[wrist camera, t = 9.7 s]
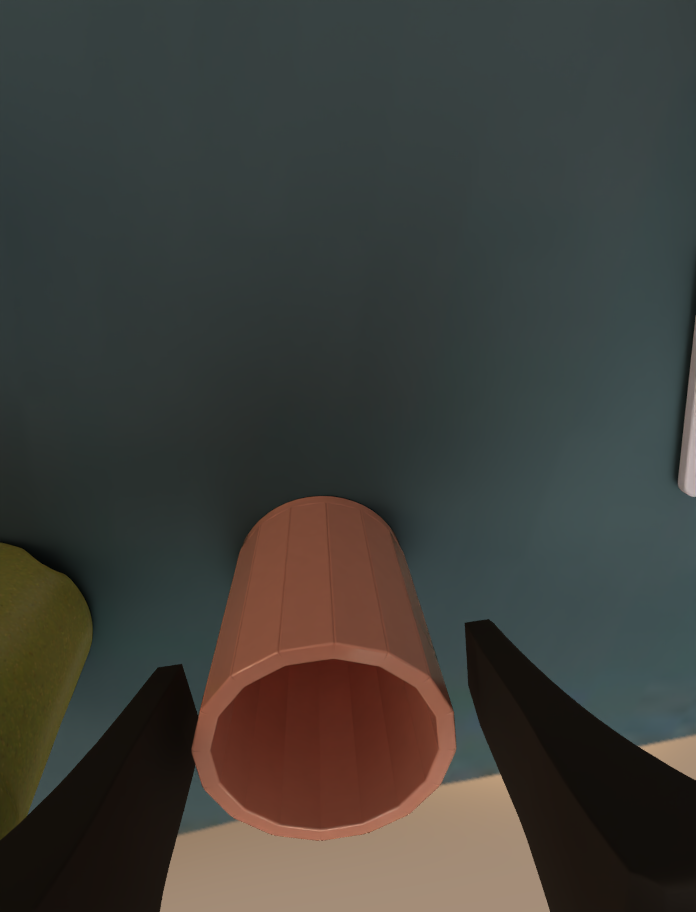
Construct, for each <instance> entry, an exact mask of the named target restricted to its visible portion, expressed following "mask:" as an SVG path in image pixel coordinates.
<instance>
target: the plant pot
mask: <svg viewBox="0 0 696 912" xmlns="http://www.w3.org/2000/svg"><path fill="white" fill-rule="evenodd" d="M92 634H93V627H92V619H91V614H90V611H89V608H88V605H87V603H86V601H85V599H84V597H83V595H82V594H81V592H80V591H79V589H78V588H77V587H76V585H75V584H74V583H73V581H72V580H71V579H70V578H69V577H68V576H67V575H65V574H63V573H60V572H57V571H55V570H52V569H50V568H49V567H47V566H45V565H43V564H41V563H40V562H39V561H37V560H36V559H35V558H33V557H32V556H31V555H30V554H29V553H28V552H27V551H25V550H24V549H22V548H19V547H16V546H13V545H9V544H5V543H0V840H1V839H2V838H3V837H4V836H6V835H7V834H8V833H9V832H10V831H11V830H12V829H14V828H15V827H16V826H17V825H18V824H19V823H20V822H21V821H22V820H23V819H24V818H26V817H27V814H28V811H29V808H30V806H31V803H32V800H33V798H34V795H35V792H36V789H37V787H38V784H39V781H40V779H41V776H42V773H43V770H44V768H45V765H46V762H47V760H48V757H49V754H50V752H51V749H52V746H53V743H54V741H55V738H56V735H57V733H58V730H59V727H60V724H61V722H62V719H63V717H64V714H65V712H66V709H67V707H68V704H69V702H70V699H71V697H72V694H73V692H74V689H75V687H76V684H77V681H78V679H79V676H80V674H81V671H82V668H83V666H84V663H85V661H86V658H87V655H88V653H89V650H90V646H91V642H92Z"/></svg>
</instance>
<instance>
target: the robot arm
mask: <svg viewBox="0 0 696 912" xmlns="http://www.w3.org/2000/svg"><path fill="white" fill-rule="evenodd" d="M678 487H679V488H680V490H681V491H683V492H684V493H686V494H688V495H690V496H692V497H696V317H695V326H694V336H693V345H692V354H691V364H690V373H689V382H688V392H687V401H686V410H685V420H684V429H683V438H682V448H681V457H680V466H679V475H678ZM465 636H466V653H467V670H468V686H469V689H470V692H471V696H472V699H473V703H474V706H475V709H476V713H477V716H478V719H479V723H480V726H481V728H482V731H483V733H484V736H485V738H486V740H487V743H488V745H489V748H490V750H491V752H492V755H493V757H494V760H495V762H496V764H497V767H498V769H499V771H500V774H501V776H502V779H503V781H504V783H505V785H506V788H507V790H508V793H509V795H510V798H511V800H512V802H513V805H514V807H515V809H516V812H517V814H518V817H519V819H520V822H521V824H522V827H523V830H524V832H525V835H526V838H527V840H528V843H529V847H530V850H531V853H532V856H533V859H534V862H535V865H536V868H537V871H538V874H539V878H540V880H541V884H542V887H543V890H544V893H545V896H546V899H547V903H548V906H549V909H550V912H696V780H694V779H692V778H690V777H688V776H686V775H684V774H683V773H681V772H679V771H678V770H676V769H674V768H672V767H670V766H669V765H667V764H666V763H664V762H662V761H661V760H659V759H657V758H656V757H654V756H652V755H651V754H649V753H648V752H646V751H644V750H643V749H641V748H640V747H638V746H636V745H635V744H633V743H632V742H630V741H629V740H627V739H626V738H624V737H623V736H621V735H620V734H618V733H617V732H615V731H614V730H613V729H611V728H610V727H609V726H607V725H606V724H604V723H603V722H602V721H600V720H599V719H598V718H596V717H595V716H594V715H592V714H591V713H590V712H588V711H587V710H586V709H585V708H583V707H582V706H581V705H580V704H578V703H577V702H576V701H575V700H573V699H572V698H571V697H570V696H569V695H567V694H566V693H565V692H564V691H563V690H561V689H560V688H559V687H558V686H557V685H556V684H555V683H553V682H552V681H551V680H550V679H549V678H548V677H547V676H546V675H545V674H544V673H543V672H541V671H540V670H539V669H538V668H537V667H536V666H535V665H534V664H533V663H532V662H531V661H530V660H529V659H528V658H527V657H526V656H525V655H524V654H523V653H522V652H521V651H520V650H519V649H518V648H517V647H516V646H515V645H514V644H513V643H512V642H511V641H510V640H509V639H508V638H507V637H506V636H505V635H504V634H503V633H502V632H501V631H500V630H499V629H498V628H497V626H496V625H495V624H494V623H493V622H492V621H490V620H489V619H487V620H480V621H473V622H467V623H465ZM197 721H198V715H197V711H196V708H195V705H194V702H193V698H192V695H191V692H190V689H189V685H188V682H187V679H186V676H185V672H184V669H183V666H182V664H179V665H172V666H165V667H158V668H157V669H156V671H155V672H154V673H153V674H152V675H151V677H150V678H149V679H148V680H147V682H146V683H145V684H144V685H143V687H142V688H141V689H140V690H139V692H138V693H137V694H136V695H135V697H134V698H133V699H132V700H131V702H130V703H129V704H128V705H127V707H126V708H125V709H124V710H123V712H122V713H121V714H120V715H119V717H118V718H117V719H116V720H115V721H114V723H113V724H112V725H111V726H110V727H109V729H108V730H107V731H106V732H105V733H104V735H103V736H102V737H101V738H100V739H99V741H98V742H97V743H96V744H95V745H94V746H93V747H92V749H91V750H90V751H89V752H88V753H87V754H86V755H85V756H84V758H83V759H82V760H81V761H80V762H79V763H78V764H77V765H76V767H75V768H74V769H73V770H72V771H71V772H70V773H69V774H68V775H67V777H66V778H65V779H64V780H63V781H62V782H61V783H60V784H59V785H58V786H57V787H56V788H55V789H54V790H53V791H52V792H51V793H50V794H49V795H48V796H47V797H46V798H45V799H44V800H43V801H42V802H41V803H40V804H39V805H38V806H37V807H36V808H35V809H34V810H33V811H32V812H31V813H30V814H29V815H28V816H27V817H26V818H24V819H23V820H22V821H21V822H20V823H19V824H18V825H17V826H16V827H15V828H14V829H12V830H11V831H10V832H9V833H8V834H7V835H6V836H4V837H3V838H2V839H1V840H0V912H160V907H161V900H162V895H163V890H164V886H165V881H166V877H167V873H168V868H169V864H170V860H171V857H172V853H173V849H174V846H175V842H176V838H177V834H178V830H179V827H180V823H181V819H182V815H183V811H184V808H185V804H186V800H187V796H188V792H189V788H190V784H191V781H192V777H193V772H194V768H195V762H194V759H193V756H192V750H191V747H192V743H193V739H194V734H195V730H196V725H197Z"/></svg>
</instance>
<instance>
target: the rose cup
mask: <svg viewBox="0 0 696 912" xmlns="http://www.w3.org/2000/svg"><path fill="white" fill-rule="evenodd" d="M191 750H192V756H193V759H194V762H195V765H196V768H197V771H198V774H199V777H200V780H201V783H202V787H203V788H204V790H205V791H206V792H207V793H208V794H209V795H210V796H211V797H212V798H213V799H214V800H215V801H216V802H217V803H218V804H219V805H220V806H221V807H222V808H223V809H224V810H225V811H226V812H227V813H228V814H229V815H230V816H231V817H233V818H234V819H237V820H239V821H241V822H243V823H246V824H248V825H250V826H252V827H255V828H257V829H259V830H262V831H264V832H266V833H268V834H271V835H275V836H281V837H289V838H298V839H307V840H316V841H319V840H321V841H323V840H330V839H336V838H342V837H349V836H356V835H362V834H366V832H367V833H370V832H372V831H374V830H376V829H379V828H381V827H383V826H385V825H387V824H390V823H392V822H394V821H396V820H398V819H400V818H403V817H405V816H407V815H408V814H410V813H411V812H412V811H413V810H414V809H415V808H417V807H418V806H419V805H420V804H421V803H422V802H423V801H424V800H425V799H426V798H427V797H428V796H430V795H431V794H432V793H433V792H434V791H435V790H436V789H437V788H438V787H439V785H441V783H442V781H443V778H444V776H445V774H446V772H447V770H448V767H449V765H450V763H451V761H452V758H453V756H454V754H455V752H456V734H455V720H454V711H453V708H452V704H451V701H450V698H449V695H448V692H447V689H446V685H445V682H444V679H443V676H442V673H441V670H440V666H439V663H438V660H437V657H436V654H435V651H434V647H433V644H432V641H431V638H430V635H429V632H428V628H427V625H426V622H425V619H424V616H423V613H422V609H421V606H420V603H419V600H418V597H417V594H416V590H415V587H414V584H413V581H412V578H411V575H410V571H409V568H408V565H407V562H406V559H405V556H404V553H403V551H402V550H401V548H400V545H399V542H398V540H397V538H396V536H395V534H394V532H393V531H392V530H391V528H390V527H389V525H388V524H387V523H386V522H385V521H384V520H383V519H382V518H381V517H380V516H379V515H377V514H376V513H375V512H373V511H372V510H370V509H369V508H367V507H365V506H363V505H361V504H359V503H356V502H354V501H351V500H347V499H344V498H339V497H332V496H314V497H306V498H301V499H297V500H294V501H291V502H288V503H285V504H283V505H281V506H279V507H277V508H275V509H274V510H272V511H271V512H269V513H268V514H266V515H265V516H264V517H263V518H262V519H260V520H259V521H258V522H257V523H256V525H255V526H254V527H253V528H252V529H251V531H250V532H249V534H248V535H247V537H246V539H245V541H244V543H243V545H242V548H241V550H240V553H239V557H238V560H237V564H236V568H235V572H234V576H233V580H232V584H231V588H230V592H229V596H228V600H227V604H226V608H225V612H224V616H223V620H222V624H221V628H220V632H219V636H218V640H217V644H216V648H215V652H214V656H213V660H212V664H211V668H210V672H209V676H208V680H207V684H206V688H205V692H204V696H203V700H202V704H201V708H200V712H199V716H198V721H197V725H196V730H195V734H194V739H193V743H192V747H191Z"/></svg>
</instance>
